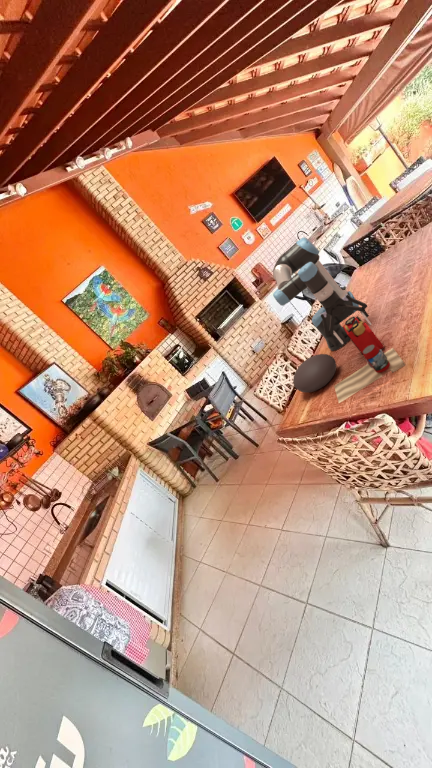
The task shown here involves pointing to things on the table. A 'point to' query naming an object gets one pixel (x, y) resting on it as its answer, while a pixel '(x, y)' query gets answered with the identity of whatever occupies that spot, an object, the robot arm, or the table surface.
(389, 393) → the table surface
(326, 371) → the flattened ellipsoid
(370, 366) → the block
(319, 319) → the robot arm
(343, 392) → the subfloor panel
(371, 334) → the red mechanical device
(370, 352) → the beverage can
